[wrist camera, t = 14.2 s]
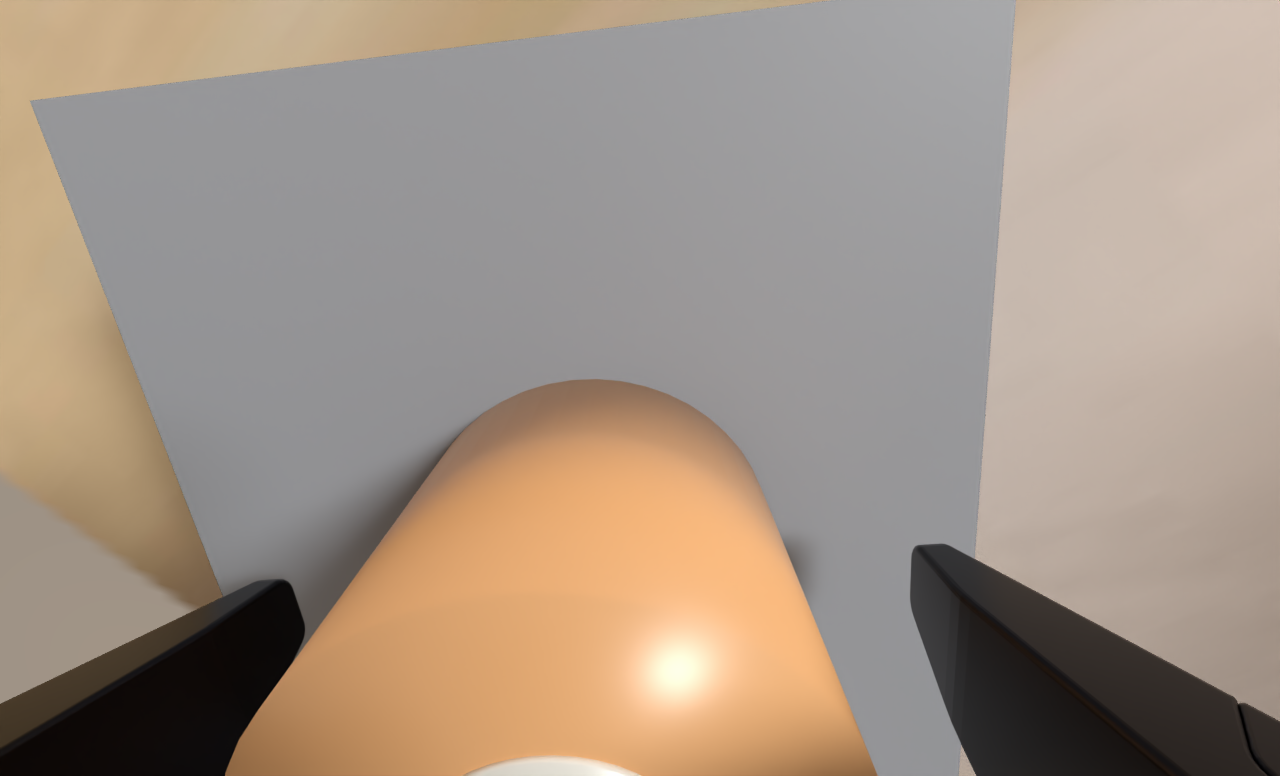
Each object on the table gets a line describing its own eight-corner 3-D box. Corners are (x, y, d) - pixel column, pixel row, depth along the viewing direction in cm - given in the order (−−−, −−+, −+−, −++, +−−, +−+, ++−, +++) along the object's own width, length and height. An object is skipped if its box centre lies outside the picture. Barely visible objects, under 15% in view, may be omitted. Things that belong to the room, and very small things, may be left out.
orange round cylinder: (760, 360, 9) (902, 563, 4) (775, 665, 11) (886, 1058, 6) (386, 398, 9) (104, 638, 4) (461, 693, 11) (320, 1096, 6)
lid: (981, -4, 8) (1017, -24, 7) (935, 787, 13) (954, 825, 12) (84, 108, 9) (30, 100, 8) (349, 835, 13) (331, 875, 12)
